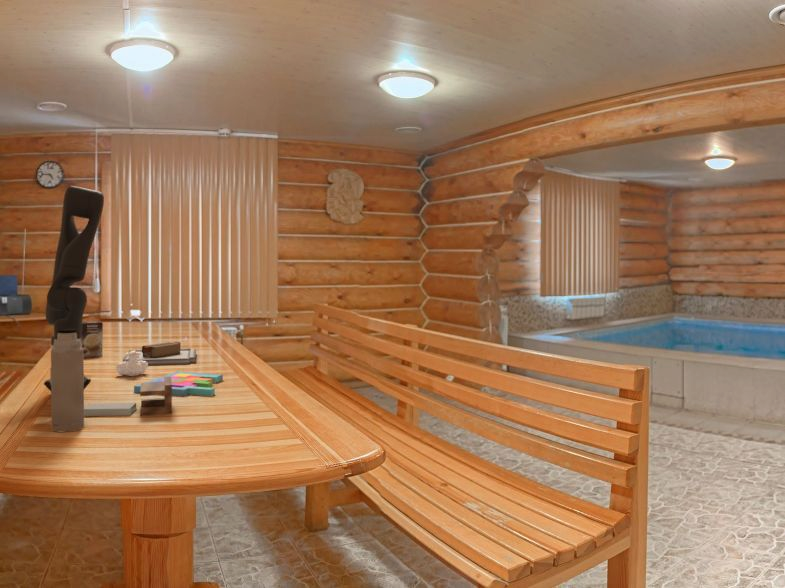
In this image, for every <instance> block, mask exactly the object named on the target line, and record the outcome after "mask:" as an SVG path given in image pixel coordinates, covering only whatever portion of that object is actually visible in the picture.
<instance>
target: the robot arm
mask: <svg viewBox="0 0 785 588" xmlns="http://www.w3.org/2000/svg"><path fill="white" fill-rule="evenodd" d="M104 198H105V195H104V194H103V193H102V192H101V191H99V190H94V189H89V188H85V187H80V186H77V185H69V186H68V187H67V188H66V190H65V193H64V197H63V203H62V213H61V214H62V215H61V224H60V232H59V237H58V243H57V248H56V253H55V258H54V266H53V267H54V268H53V275H52V281H51V286H50V288H49V290H48V291H47V295H46V305H45V313H44V315H45V320H46V322H47V323H48V324H49V325H51V326H52V325H53V335H52V337H51V339H50V344H51V345H50V351H51V350H52V349H54V346H53V345H54V341H56V340H57V335H58V332H57V330H59V329H77V332H76V334H77V339H78V340H80V341H81V339H82V322H83V317H84V312H85V309H86V307H87V302H88V298H87V297H88V296H87V293H86V292H85V290H84V289H83V288H81V287H73V285H74V284H76V283H80V282H82V281H83V280H84V279H85V277H86V276H85V275H86V271H87V265H88V260H89V256H90V252H91V249H92V245H93V243H94V240H95V237H96V234H97V231H98V227H99V224H100V222H101V217H102V214H103V210H104V209H103V208H104V204H105V203H104V202H105V199H104ZM74 217H77V218H82V219H87V220H88V221H87V224H86V225H85V228H83V230H82V231H81V232H80V233H79V231H78V229H77V226H76V223H75V218H74ZM81 348H82V343H81ZM49 369H50V373H49V374H50V375H49V376H50V378H48V379H47V380H45V381H44V382H43V385H44V386H45V387H46V388H47V389H48V390H49V391H50V392H51V367H50V368H49ZM91 381H92V379H91V378H90V377H87V376H86V375H84V390H85V389H86V388H87V387H88V385H89V384H90V383H91Z"/></svg>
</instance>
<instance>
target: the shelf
mask: <svg viewBox="0 0 785 588" xmlns="http://www.w3.org/2000/svg"><path fill="white" fill-rule="evenodd" d="M140 384H141V390H140V393H139V396H140V397H147V396H148V397H149V396H164V397H160V398H159V397H158V398H143V399H141V400H140V405H141V407H139V408H140V409H139V411H140V412H139V414H140V415H139V416H151V415H152V416H153V415H155V416H156V415H167V414H170V415H171V414H172V413H173V408H172V406H173V405H172V404H173V397H172V396H173V395H172V382H171V377H164V382H149V383H144V382H141V383H140Z"/></svg>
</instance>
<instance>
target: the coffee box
mask: <svg viewBox="0 0 785 588" xmlns="http://www.w3.org/2000/svg"><path fill="white" fill-rule="evenodd" d="M103 325H104V323H103V322H102V321H99V320H98V321H82V339H81V343H82V348H83V358H93V357H92V356H96V357H97V356H98V357H103V336H104V335H103V332H104V331H103V329H104V328H103V327H104V326H103Z"/></svg>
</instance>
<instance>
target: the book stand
mask: <svg viewBox="0 0 785 588" xmlns="http://www.w3.org/2000/svg"><path fill="white" fill-rule="evenodd" d="M131 351H136V352H141V354H140V355H139V359H138V358H137V360H138V361H140V360H141V361H146V362H147V363H148V366H170V365H172V366H173V365H175V366H177V365H179V366H180V365H190V364H196V360H197V359H196V358H197V356H196V355H197V348H191V347H189V348H185V347H184V348H181V342H179V341H174V342H161V343H153V344H147V345H142V347H141V349H140V348H139V349H134V350H132V349H131V350H128V352H127V353H130V352H131ZM128 358H129V357H128V355H126V354H125V356H124V357H123V359H122V362H127V361H129V359H128Z"/></svg>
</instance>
